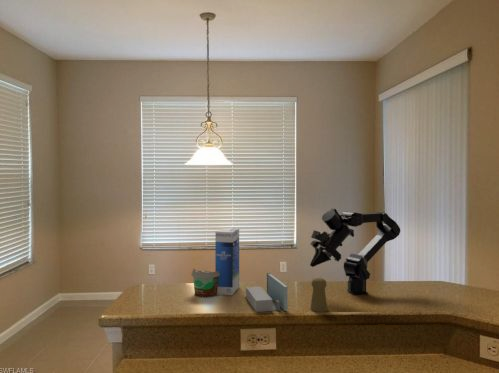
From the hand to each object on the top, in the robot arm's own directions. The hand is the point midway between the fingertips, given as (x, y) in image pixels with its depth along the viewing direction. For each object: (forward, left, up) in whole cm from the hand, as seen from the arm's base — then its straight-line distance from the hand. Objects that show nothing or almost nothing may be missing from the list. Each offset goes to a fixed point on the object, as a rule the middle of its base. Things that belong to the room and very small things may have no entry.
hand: (311, 265), depth 152 cm
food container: (+42, -12, -13) cm, 45 cm away
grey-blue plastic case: (+20, +2, -13) cm, 24 cm away
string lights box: (+31, -17, -13) cm, 37 cm away
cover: (+15, +4, -12) cm, 20 cm away
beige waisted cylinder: (+2, +14, -13) cm, 19 cm away
